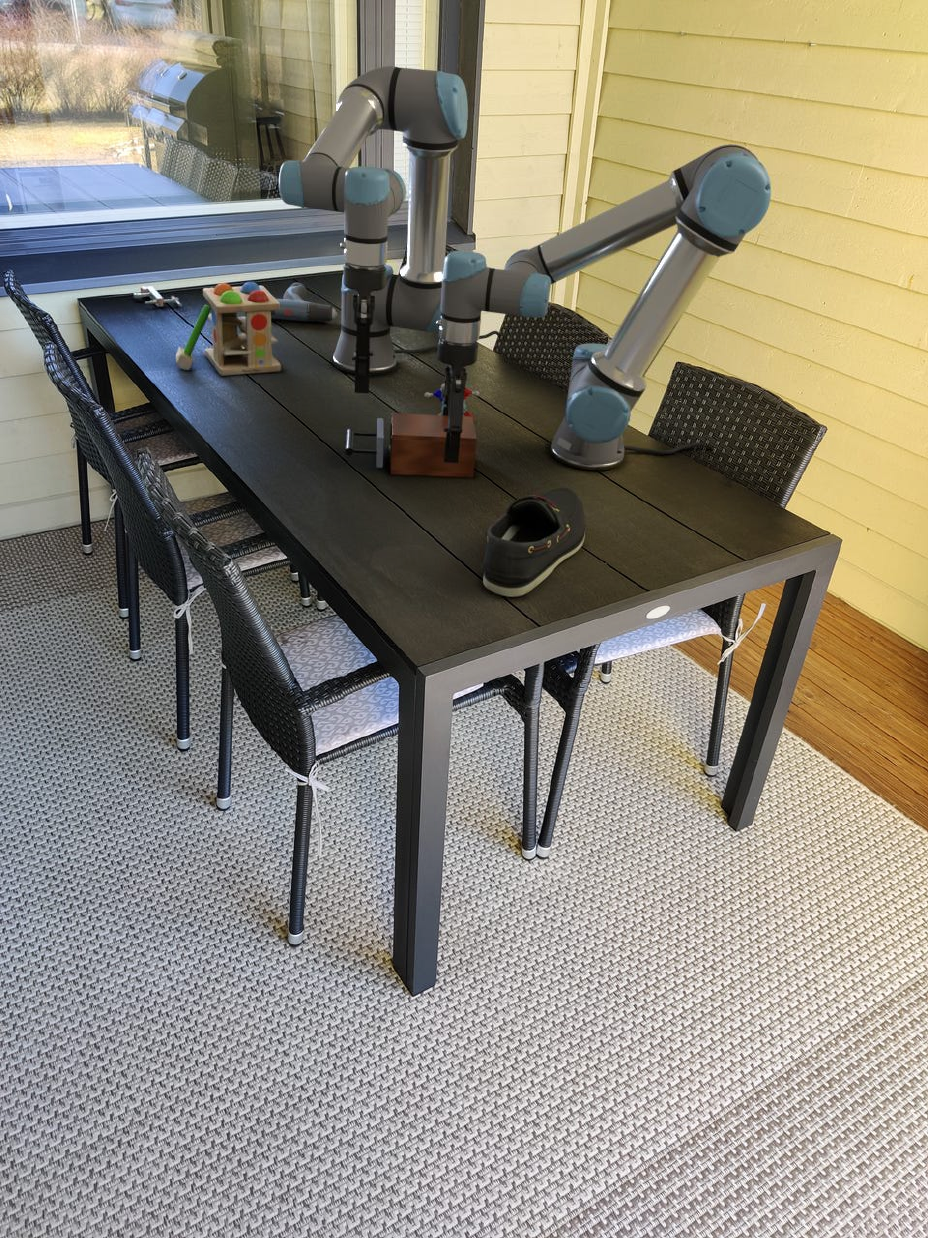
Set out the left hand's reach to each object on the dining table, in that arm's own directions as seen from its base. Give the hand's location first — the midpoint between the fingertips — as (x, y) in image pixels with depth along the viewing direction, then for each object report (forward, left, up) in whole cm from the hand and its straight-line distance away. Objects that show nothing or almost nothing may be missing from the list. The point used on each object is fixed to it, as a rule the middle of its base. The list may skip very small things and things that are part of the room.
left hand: (361, 391), depth 186 cm
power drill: (-44, -81, -14) cm, 94 cm away
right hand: (-14, +11, -11) cm, 21 cm away
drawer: (-6, +5, -13) cm, 15 cm away
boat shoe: (-3, +45, -14) cm, 48 cm away
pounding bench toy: (-5, -58, -14) cm, 60 cm away
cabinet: (-11, +9, -14) cm, 20 cm away
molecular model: (-28, -5, -14) cm, 32 cm away
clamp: (-14, -107, -14) cm, 109 cm away
